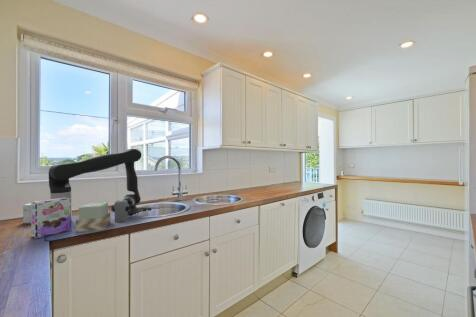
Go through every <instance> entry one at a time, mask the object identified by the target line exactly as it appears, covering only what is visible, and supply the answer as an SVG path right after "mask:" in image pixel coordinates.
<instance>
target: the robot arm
mask: <svg viewBox="0 0 476 317" xmlns="http://www.w3.org/2000/svg"><path fill="white" fill-rule="evenodd" d="M141 158H142V152H141V151H140V150H139V149H137V148H128V149H125V151H123V152H119V153H118V152H117V153H107V154H102V155H96V156H92V157H89V158H87V159H85V160H81V161H77V162H71V163H55V164H53V165H51V166H50V167H49V169H48V186H49V190H50V191H49V194H50V199H57V198H64V197H66V198H70V203H71V204H72V186H71V184H70V179H72V178H74V177H77V176H80V175H83V174H89V173H93V172H94V173H95V172H98V171H99V172H100V171H103V170H106V169H107V170H108V169H111V168H113V167H117V166H119V165H122V164H124V165H125V174H126V191H127V192H131V194H130V193H129V194H126V195H125V196H124V197H123V199H122V200H127V201H128V206H127V207H126V208H125V211H130V210H132V211H133V210H135V209H136V208H137V205H138V204H140V202H141V196H140V195H141V194H140V192H139V188H138V186H139V184H138V175H137V173H136V169H135V168H136V167H135V163H137V162H138V161H139V160H140V159H141ZM132 192H133V193H132ZM72 211H73V210H72V207H71V222H72V221H73V217H72V216H73V215H72ZM111 212H113V213H115V204H111Z"/></svg>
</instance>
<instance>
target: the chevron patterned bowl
mask: <svg viewBox="0 0 476 317" xmlns="http://www.w3.org/2000/svg"><path fill="white" fill-rule="evenodd" d="M110 224H111V212H108V214H106V215H105V216H104V217H102V218H95V219H81V220H79V218H77V219H75V233H77V232H78V233H79V232H88V231H89V232H92V231H104V230H105V229H106V228H107V227H108V226H109V225H110ZM107 225H108V226H107ZM106 226H107V227H106Z"/></svg>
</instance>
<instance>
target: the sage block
mask: <svg viewBox="0 0 476 317" xmlns="http://www.w3.org/2000/svg"><path fill="white" fill-rule="evenodd" d="M108 202H109V201H107V202H106V201H105V202H94V203H92V202H91V203H86V204H83V205H81V206H79V207H78V219H79V220H81V219H95V218H102V217H104V216H105V215H106V214H108V213H109V203H108Z"/></svg>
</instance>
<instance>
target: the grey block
mask: <svg viewBox="0 0 476 317" xmlns="http://www.w3.org/2000/svg"><path fill="white" fill-rule="evenodd" d="M114 205H115V212H114V222H115V223H119V222H126V221H127V220H128V219H129V218H128V215H129V214H128V213H129V212H128V211H129V210H128V211H125V208H126V207H127V206H128V201H127V200H123V199H122V200H116V201H114Z"/></svg>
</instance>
